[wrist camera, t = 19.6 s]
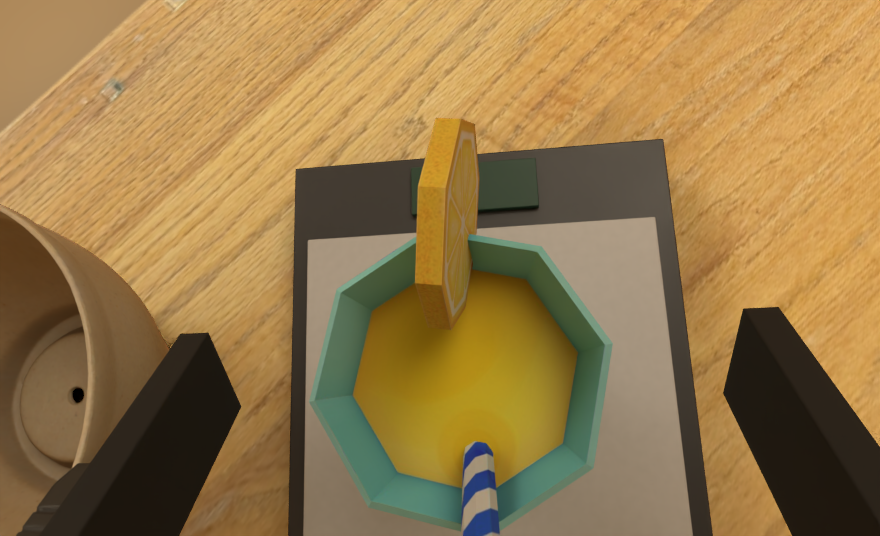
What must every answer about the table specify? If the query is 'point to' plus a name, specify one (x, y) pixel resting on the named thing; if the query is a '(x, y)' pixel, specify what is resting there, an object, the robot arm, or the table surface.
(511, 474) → the cup
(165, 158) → the table surface
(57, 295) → the planter bowl
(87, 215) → the table surface
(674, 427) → the scale
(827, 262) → the table surface
